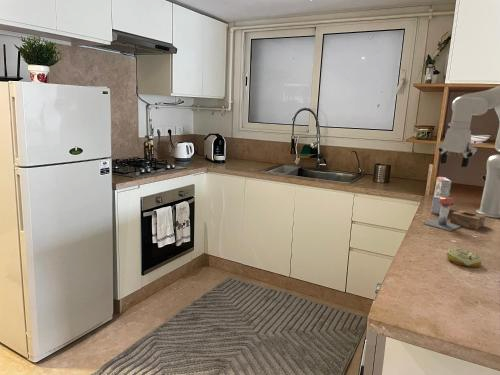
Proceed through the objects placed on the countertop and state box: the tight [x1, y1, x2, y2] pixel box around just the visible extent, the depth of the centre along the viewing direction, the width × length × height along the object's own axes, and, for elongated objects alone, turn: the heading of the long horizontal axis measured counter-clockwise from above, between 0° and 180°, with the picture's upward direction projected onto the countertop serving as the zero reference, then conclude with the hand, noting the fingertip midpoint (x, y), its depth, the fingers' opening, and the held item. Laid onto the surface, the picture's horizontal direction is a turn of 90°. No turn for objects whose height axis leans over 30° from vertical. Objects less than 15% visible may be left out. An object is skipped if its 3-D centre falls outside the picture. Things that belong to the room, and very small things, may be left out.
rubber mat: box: [423, 218, 462, 232], centre depth 175 cm, size 12×12×1 cm
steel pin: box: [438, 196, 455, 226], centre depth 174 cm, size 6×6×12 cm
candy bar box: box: [433, 176, 453, 198], centre depth 206 cm, size 11×5×16 cm, turn 168°
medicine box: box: [430, 195, 441, 215], centre depth 195 cm, size 8×4×9 cm, turn 65°
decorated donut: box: [446, 247, 483, 268], centre depth 132 cm, size 10×11×4 cm
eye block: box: [449, 209, 487, 230], centre depth 179 cm, size 11×11×5 cm
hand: (453, 165), depth 169 cm, fingers open, 9 cm apart
